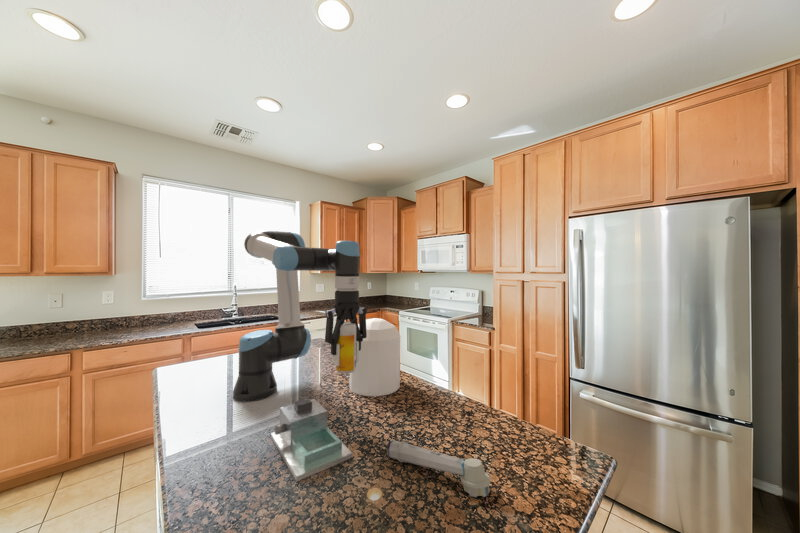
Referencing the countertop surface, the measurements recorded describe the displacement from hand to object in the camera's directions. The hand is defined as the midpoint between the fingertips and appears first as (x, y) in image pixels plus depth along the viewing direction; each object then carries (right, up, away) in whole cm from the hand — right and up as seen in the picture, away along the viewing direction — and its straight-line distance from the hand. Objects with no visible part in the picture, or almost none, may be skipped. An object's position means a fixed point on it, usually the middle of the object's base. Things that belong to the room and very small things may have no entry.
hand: (346, 362), depth 92 cm
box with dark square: (-7, -18, -14) cm, 24 cm away
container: (+7, -19, +29) cm, 35 cm away
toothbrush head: (+25, -18, -24) cm, 39 cm away
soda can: (0, -3, 0) cm, 3 cm away
